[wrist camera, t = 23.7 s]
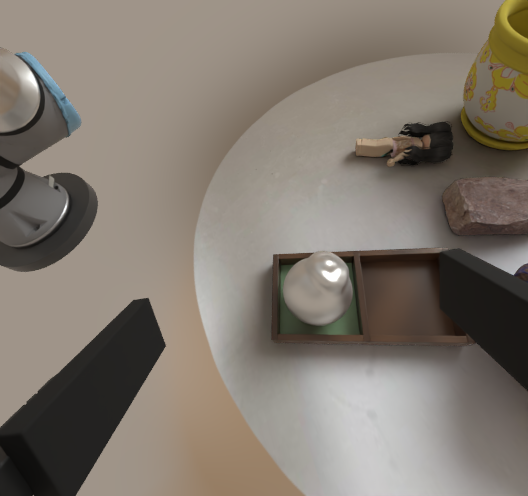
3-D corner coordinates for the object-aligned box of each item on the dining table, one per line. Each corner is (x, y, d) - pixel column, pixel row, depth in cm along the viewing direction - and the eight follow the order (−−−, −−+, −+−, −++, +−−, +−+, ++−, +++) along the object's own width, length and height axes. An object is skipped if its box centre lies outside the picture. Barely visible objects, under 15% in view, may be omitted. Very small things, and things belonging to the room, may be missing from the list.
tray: (274, 343, 38) (271, 340, 35) (276, 262, 44) (273, 254, 41) (463, 346, 34) (476, 343, 31) (439, 256, 39) (448, 247, 37)
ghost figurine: (365, 311, 37) (380, 289, 28) (304, 342, 37) (300, 329, 28) (331, 258, 41) (335, 224, 32) (276, 286, 41) (264, 259, 32)
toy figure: (358, 176, 48) (452, 167, 45) (360, 147, 43) (468, 134, 40) (354, 151, 52) (441, 140, 49) (356, 120, 47) (454, 107, 44)
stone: (545, 238, 38) (572, 221, 34) (451, 242, 40) (465, 226, 36) (521, 187, 42) (543, 165, 38) (437, 192, 44) (449, 173, 40)
